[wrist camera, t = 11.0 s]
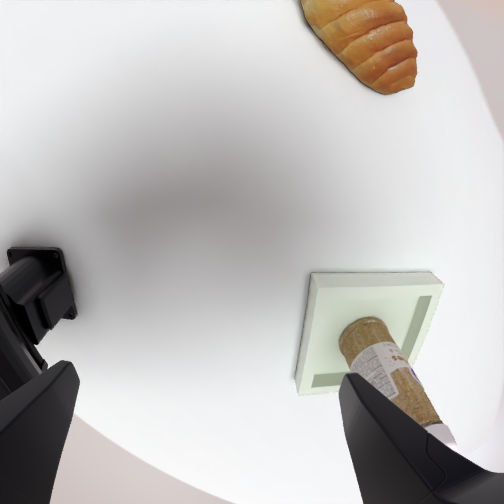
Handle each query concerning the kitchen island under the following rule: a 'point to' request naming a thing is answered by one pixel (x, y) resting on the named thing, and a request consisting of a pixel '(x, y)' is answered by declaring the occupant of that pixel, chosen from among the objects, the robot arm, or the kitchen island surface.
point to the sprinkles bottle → (391, 374)
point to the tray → (357, 308)
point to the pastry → (367, 40)
